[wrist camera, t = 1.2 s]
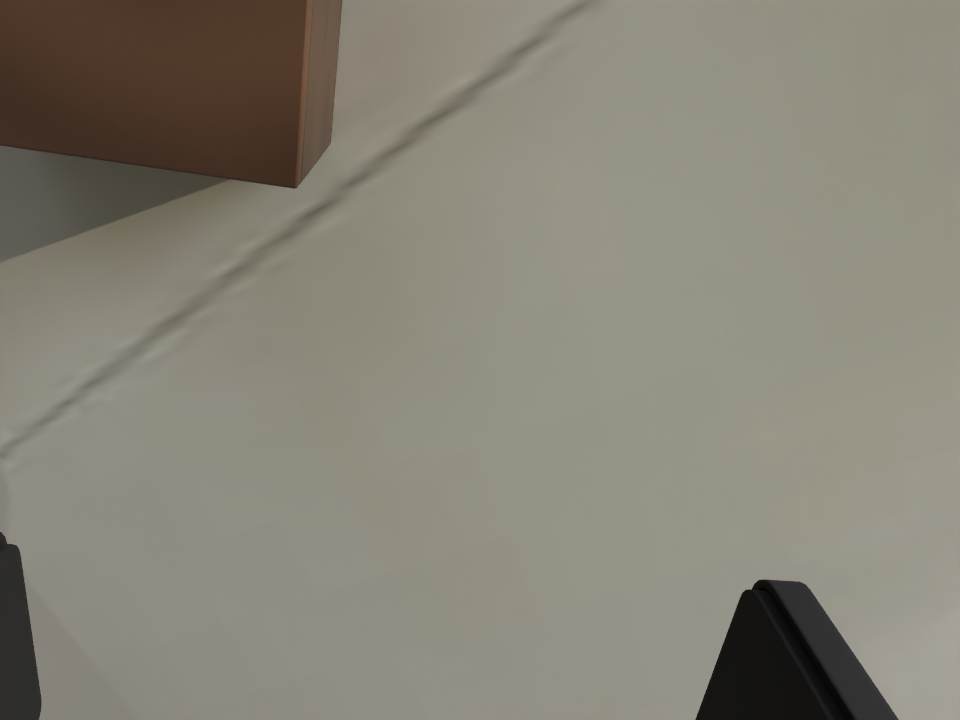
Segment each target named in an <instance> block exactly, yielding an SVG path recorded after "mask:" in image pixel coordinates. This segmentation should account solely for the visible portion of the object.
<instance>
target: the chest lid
mask: <svg viewBox="0 0 960 720" xmlns="http://www.w3.org/2000/svg"><path fill="white" fill-rule="evenodd" d="M312 5H313V0H0V145H1V146H8V147H15V148H22V149H28V150H35V151H42V152H49V153H56V154H63V155H69V156H76V157H83V158H90V159H97V160H104V161H110V162H117V163H124V164H131V165H138V166H144V167H151V168H158V169H165V170H172V171H179V172H185V173H192V174H199V175H206V176H213V177H220V178H226V179H233V180H240V181H247V182H254V183H261V184H267V185H274V186H281V187H288V188H297V187H298V186H299V184H300V182H301V169H302V154H303V139H304V124H305V109H306V94H307V79H308V64H309V50H310V35H311V20H312Z"/></svg>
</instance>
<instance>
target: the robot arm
mask: <svg viewBox="0 0 960 720" xmlns="http://www.w3.org/2000/svg"><path fill="white" fill-rule="evenodd" d="M40 712H41V694H40V687H39V680H38V673H37V666H36V659H35V653H34V646H33V638H32V631H31V624H30V617H29V610H28V604H27V597H26V590H25V583H24V576H23V569H22V562H21V555H20V551H19V548H18V547H17V546H16V545H13V544H7V542H6V538H5V536H4V535H3V534H2V533H1V532H0V720H39V716H40ZM696 720H898V718H897V717H896V715H895V714H894V712H893V711H892V709H891V708H890V706H889V705H888V703H887V702H886V700H885V699H884V698H883V696H882V695H881V693H880V692H879V690H878V689H877V687H876V686H875V684H874V683H873V681H872V680H871V678H870V677H869V676H868V674H867V673H866V671H865V670H864V668H863V667H862V665H861V664H860V662H859V661H858V659H857V658H856V656H855V655H854V653H853V652H852V651H851V649H850V648H849V646H848V645H847V643H846V642H845V640H844V639H843V637H842V636H841V634H840V633H839V631H838V630H837V628H836V627H835V626H834V624H833V623H832V621H831V620H830V618H829V617H828V615H827V614H826V612H825V611H824V609H823V608H822V606H821V605H820V603H819V602H818V601H817V599H816V598H815V596H814V595H813V593H812V592H811V590H810V589H809V588H808V587H807V586H806V585H805V584H803V583H801V582H794V581H778V580H759V581H757V582H756V583H755V584H754V586H753V588H752V590H745V591H744V592H743V593H742V595H741V597H740V600H739V602H738V605H737V608H736V611H735V613H734V616H733V619H732V621H731V624H730V627H729V630H728V632H727V635H726V638H725V641H724V643H723V646H722V649H721V652H720V654H719V657H718V660H717V662H716V665H715V668H714V671H713V673H712V676H711V679H710V682H709V684H708V687H707V690H706V693H705V695H704V698H703V701H702V703H701V706H700V709H699V712H698V714H697V717H696Z"/></svg>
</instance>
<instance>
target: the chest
mask: <svg viewBox="0 0 960 720" xmlns="http://www.w3.org/2000/svg"><path fill="white" fill-rule="evenodd" d="M341 10H342V0H313V5H312V20H311V35H310V50H309V64H308V79H307V94H306V109H305V124H304V139H303V154H302V169H301V182H302V181H303V180H304V178H305V177H306V176H307V174H308V173H309V172H310V170H311V169H312V168H313V166H314V165H315V164H316V162H317V161H318V160H319V158H320V157H321V156H322V154H323V153H324V152H325V150H326V149H327V148H328V146H329V145H330V143H331V133H332V120H333V108H334V96H335V83H336V71H337V59H338V47H339V34H340V22H341ZM301 182H300V183H301Z"/></svg>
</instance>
